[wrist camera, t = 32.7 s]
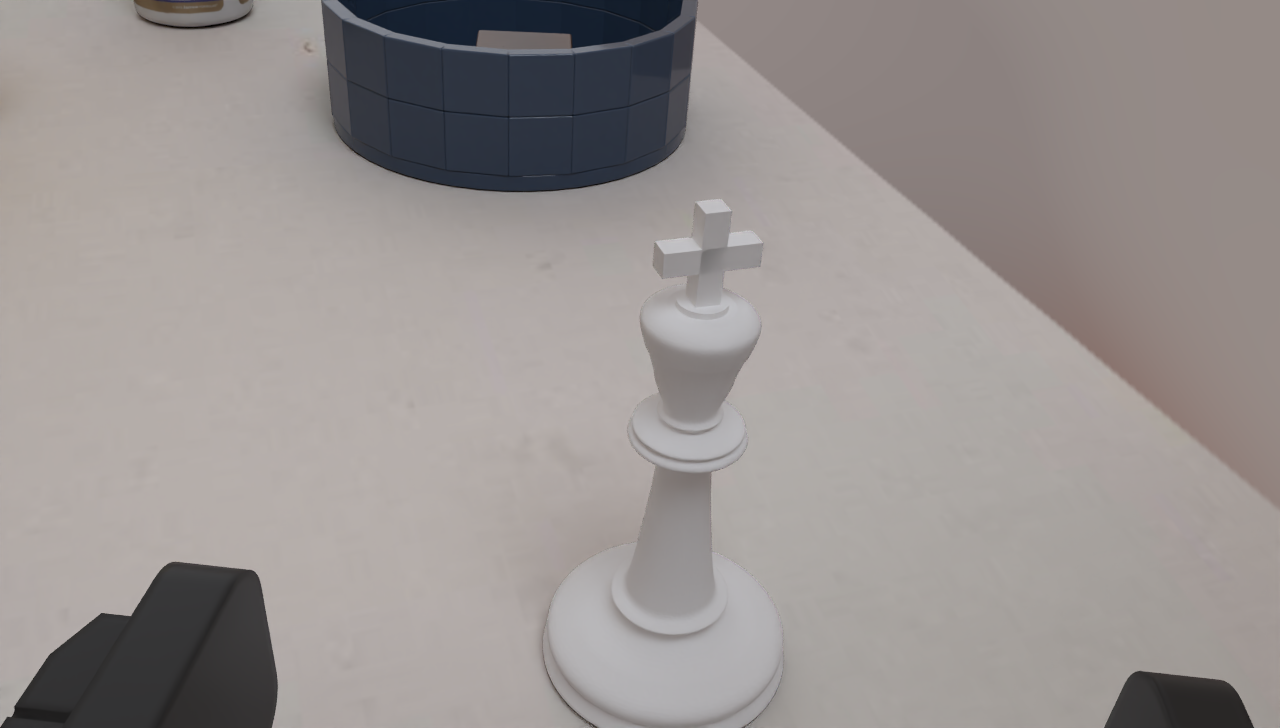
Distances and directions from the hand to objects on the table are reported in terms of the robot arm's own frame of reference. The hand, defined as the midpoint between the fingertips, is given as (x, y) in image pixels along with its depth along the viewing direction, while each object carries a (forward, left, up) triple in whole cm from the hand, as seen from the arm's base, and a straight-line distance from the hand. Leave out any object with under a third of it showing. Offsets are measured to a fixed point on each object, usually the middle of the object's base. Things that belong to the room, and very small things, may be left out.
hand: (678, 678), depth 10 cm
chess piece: (0, -9, -9) cm, 13 cm away
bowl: (+8, -36, -9) cm, 38 cm away
